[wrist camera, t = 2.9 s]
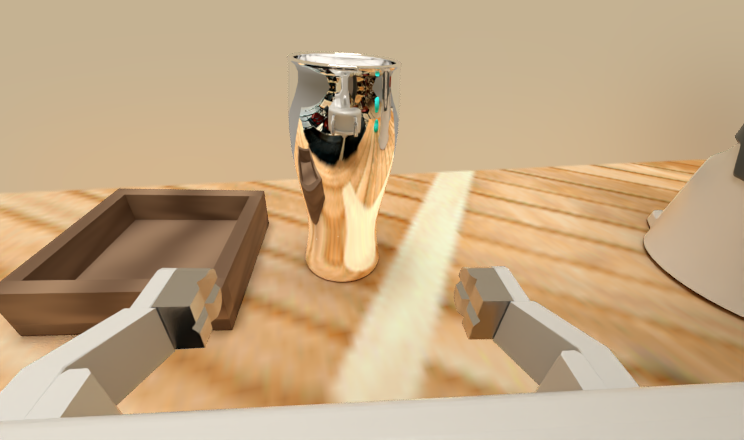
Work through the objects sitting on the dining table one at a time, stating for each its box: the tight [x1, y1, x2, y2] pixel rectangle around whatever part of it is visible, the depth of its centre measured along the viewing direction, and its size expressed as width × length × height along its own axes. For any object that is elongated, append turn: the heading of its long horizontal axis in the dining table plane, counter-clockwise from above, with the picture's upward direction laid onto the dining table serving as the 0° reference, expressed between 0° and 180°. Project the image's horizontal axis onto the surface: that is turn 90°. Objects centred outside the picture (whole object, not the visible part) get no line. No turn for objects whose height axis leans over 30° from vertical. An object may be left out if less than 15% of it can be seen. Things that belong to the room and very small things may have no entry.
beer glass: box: [287, 52, 401, 282], centre depth 22 cm, size 7×7×15 cm
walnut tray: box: [0, 189, 269, 336], centre depth 23 cm, size 12×12×4 cm
